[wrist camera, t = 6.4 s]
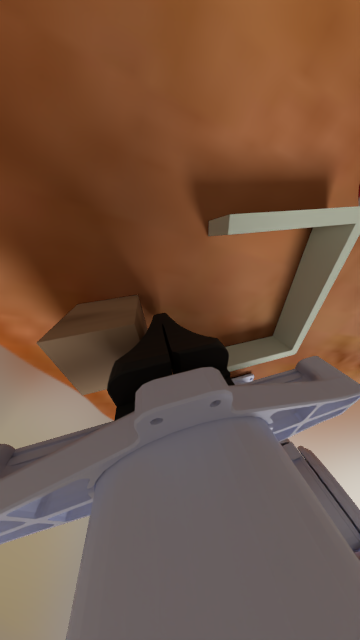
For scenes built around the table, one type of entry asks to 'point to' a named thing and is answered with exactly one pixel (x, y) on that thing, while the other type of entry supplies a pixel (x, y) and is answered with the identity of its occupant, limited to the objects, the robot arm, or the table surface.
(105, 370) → the tan cube
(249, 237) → the table surface
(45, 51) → the table surface
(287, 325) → the sage corner frame
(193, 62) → the table surface
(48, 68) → the table surface
